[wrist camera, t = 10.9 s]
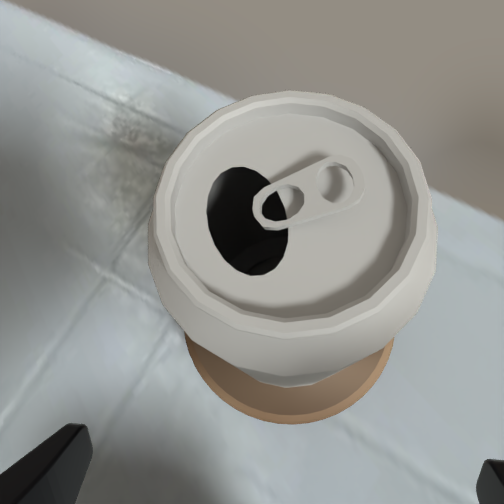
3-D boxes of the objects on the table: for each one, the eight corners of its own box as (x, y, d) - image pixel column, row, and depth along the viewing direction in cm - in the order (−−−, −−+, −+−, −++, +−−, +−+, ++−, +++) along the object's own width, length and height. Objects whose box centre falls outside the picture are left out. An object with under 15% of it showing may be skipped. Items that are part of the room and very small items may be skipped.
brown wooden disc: (403, 402, 21) (428, 403, 17) (208, 435, 21) (191, 442, 18) (353, 225, 25) (364, 195, 21) (189, 254, 25) (173, 230, 22)
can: (201, 264, 21) (102, 108, 10) (333, 227, 21) (385, 30, 10) (234, 407, 18) (148, 421, 7) (385, 363, 18) (543, 307, 7)
